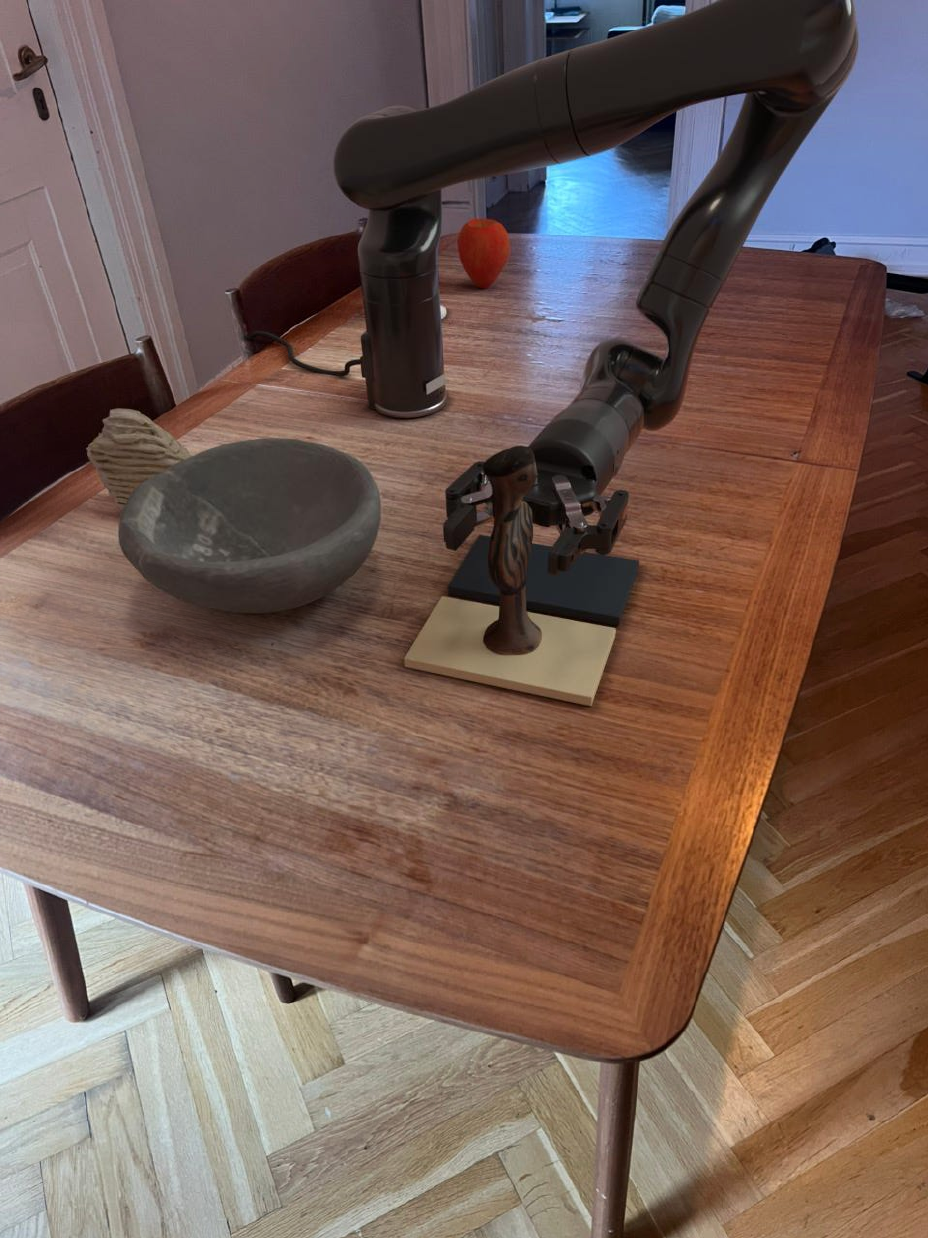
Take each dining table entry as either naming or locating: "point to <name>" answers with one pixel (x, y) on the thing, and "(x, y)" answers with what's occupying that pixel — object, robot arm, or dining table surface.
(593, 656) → the cream mat
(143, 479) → the fossil tooth
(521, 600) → the figurine
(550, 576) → the dark mat
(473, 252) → the apple
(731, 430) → the dining table surface
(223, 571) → the bowl
